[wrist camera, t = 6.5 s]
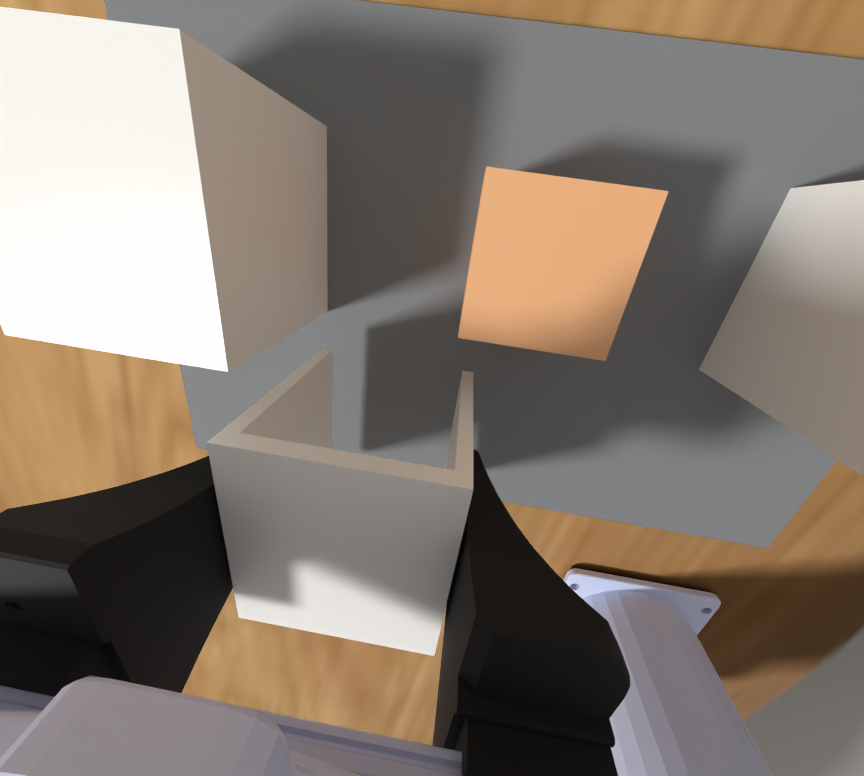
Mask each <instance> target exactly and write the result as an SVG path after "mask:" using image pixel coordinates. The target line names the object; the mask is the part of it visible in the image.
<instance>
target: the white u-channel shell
mask: <svg viewBox="0 0 864 776" xmlns="http://www.w3.org/2000/svg"><path fill="white" fill-rule="evenodd" d="M207 448H208V453H209V459H210V464H211V470H212V475H213V480H214V486H215V491H216V497H217V502H218V508H219V513H220V519H221V524H222V529H223V535H224V540H225V546H226V551H227V557H228V562H229V568H230V573H231V579H232V584H233V589H234V595H235V600H236V606H237V611H238V617H239V618H244V619H249V620H254V621H259V622H264V623H269V624H275V625H280V626H285V627H290V628H295V629H300V630H305V631H310V632H315V633H320V634H325V635H330V636H336V637H341V638H346V639H351V640H356V641H361V642H366V643H371V644H376V645H381V646H386V647H391V648H397V649H402V650H407V651H412V652H417V653H422V654H427V655H432V656H434V654H435V650H436V646H437V641H438V637H439V633H440V629H441V624H442V620H443V616H444V612H445V608H446V603H447V599H448V595H449V591H450V586H451V582H452V578H453V574H454V569H455V565H456V561H457V557H458V553H459V548H460V544H461V540H462V536H463V531H464V527H465V523H466V519H467V515H468V510H469V506H470V502H471V498H472V493H473V372H469V371H463V370H462V375H461V381H460V386H459V392H458V397H457V403H456V408H455V413H454V419H453V424H452V430H451V435H450V441H449V446H448V452H447V457H446V463H445V468H439V467H433V466H427V465H422V464H416V463H410V462H404V461H399V460H393V459H387V458H381V457H376V456H370V455H364V454H359V453H353V452H347V451H341V450H336V449H333V349H327V348H322V349H321V350H319V351H318V352H317V353H316V354H314V355H313V356H312V357H311V358H310V359H308V360H307V361H306V362H305V363H303V364H302V365H301V366H300V367H298V368H297V369H296V370H295V371H294V372H292V373H291V374H290V375H289V376H287V377H286V378H285V379H284V380H283V381H281V382H280V383H279V384H278V385H276V386H275V387H274V388H273V389H271V390H270V391H269V392H268V393H267V394H265V395H264V396H263V397H262V398H260V399H259V400H258V401H257V402H256V403H254V404H253V405H252V406H251V407H249V408H248V409H247V410H246V411H245V412H243V413H242V414H241V415H240V416H238V417H237V418H236V419H235V420H233V421H232V422H231V423H230V424H229V425H227V426H226V427H225V428H224V429H222V430H221V431H220V432H219V433H218V434H216V435H215V436H214V437H213V438H211V439H210V440H209V441H208V442H207Z"/></svg>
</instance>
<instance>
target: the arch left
mask: <svg viewBox="0 0 864 776" xmlns="http://www.w3.org/2000/svg"><path fill="white" fill-rule="evenodd" d="M326 312H328V285H327V126H326V125H324V124H323V123H321V122H319V121H318V120H316V119H315V118H313V117H312V116H310V115H309V114H307V113H306V112H304V111H303V110H301V109H300V108H298V107H297V106H295V105H294V104H292V103H291V102H289V101H288V100H286V99H285V98H283V97H282V96H280V95H279V94H277V93H276V92H274V91H273V90H271V89H270V88H268V87H267V86H265V85H263V84H262V83H260V82H259V81H257V80H256V79H254V78H253V77H251V76H250V75H248V74H247V73H245V72H244V71H242V70H241V69H239V68H238V67H236V66H235V65H233V64H232V63H230V62H229V61H227V60H226V59H224V58H223V57H221V56H220V55H218V54H217V53H215V52H214V51H212V50H210V49H209V48H207V47H206V46H204V45H203V44H201V43H200V42H198V41H197V40H195V39H194V38H192V37H191V36H189V35H188V34H186V33H185V32H183V31H182V30H180V29H176V28H168V27H160V26H152V25H144V24H135V23H127V22H119V21H111V20H103V19H95V18H87V17H79V16H71V15H63V14H55V13H46V12H38V11H30V10H22V9H14V8H6V7H0V325H1V327H2V329H3V332H4V334H5V335H8V336H14V337H20V338H26V339H32V340H38V341H44V342H51V343H57V344H63V345H69V346H75V347H81V348H87V349H93V350H99V351H105V352H111V353H117V354H123V355H129V356H135V357H141V358H147V359H153V360H159V361H165V362H171V363H177V364H183V365H189V366H196V367H202V368H208V369H214V370H220V371H226V372H229V371H230V370H232V369H234V368H235V367H237V366H239V365H240V364H242V363H243V362H245V361H247V360H248V359H250V358H252V357H253V356H255V355H257V354H258V353H260V352H262V351H263V350H265V349H267V348H268V347H270V346H272V345H273V344H275V343H277V342H278V341H280V340H281V339H283V338H285V337H286V336H288V335H290V334H291V333H293V332H295V331H296V330H298V329H300V328H301V327H303V326H305V325H306V324H308V323H310V322H311V321H313V320H315V319H316V318H318V317H320V316H321V315H323V314H324V313H326Z"/></svg>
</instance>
